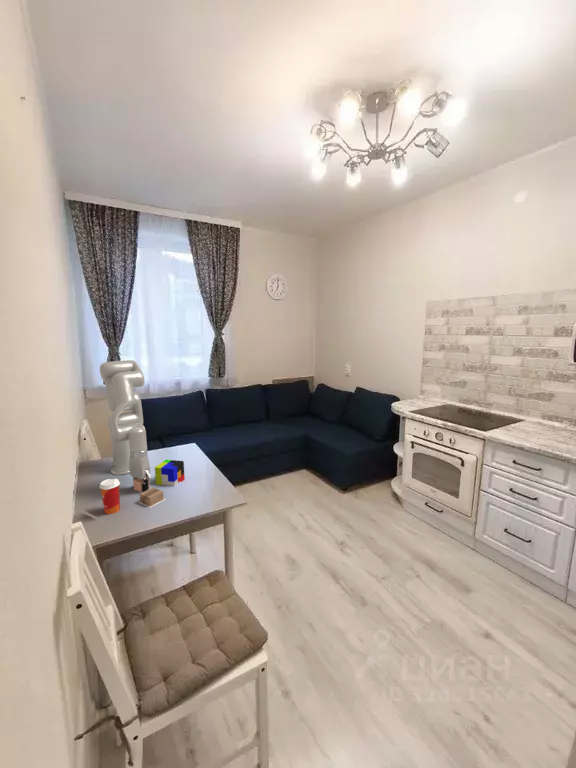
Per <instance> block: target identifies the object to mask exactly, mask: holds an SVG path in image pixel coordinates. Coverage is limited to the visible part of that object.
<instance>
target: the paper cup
mask: <svg viewBox="0 0 576 768" xmlns="http://www.w3.org/2000/svg"><path fill="white" fill-rule="evenodd" d="M120 484H121V482H120V481H119V479H118V478H108V479H104V480H103V481H101V482H100V485H99V489H100V493H101V498H102V503H103V504H102V505H103V510H104V513H105V515H111V514H115V513H117V512H119V511H120V510H121V508H120V507H121V505H120V503H121V502H120V499H121V497H120Z"/></svg>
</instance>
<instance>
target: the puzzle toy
mask: <svg viewBox="0 0 576 768" xmlns="http://www.w3.org/2000/svg"><path fill="white" fill-rule="evenodd" d="M184 463H185V461H184V460H176V459H175V460H173V459H164V460H163V461H162V462H161V463H159V464H158V465H156V466H155V467H154V475H155V485H158V486H159V485H160V486H168V487H169V486H171V487H175V486H177V484H179V483H180V482H181V483H182V482H183V481H184V480H185V478H186V477H185V464H184Z"/></svg>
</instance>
